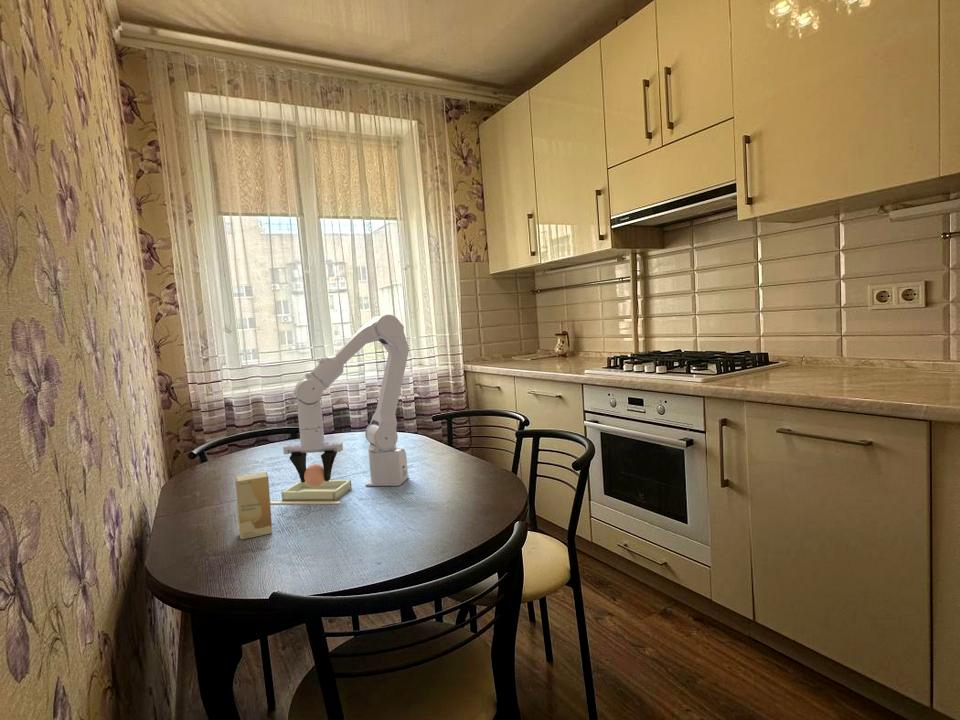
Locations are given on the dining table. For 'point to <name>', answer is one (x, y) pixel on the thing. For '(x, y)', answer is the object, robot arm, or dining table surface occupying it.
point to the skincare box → (253, 505)
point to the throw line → (305, 502)
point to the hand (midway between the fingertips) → (316, 480)
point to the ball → (314, 475)
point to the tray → (317, 491)
